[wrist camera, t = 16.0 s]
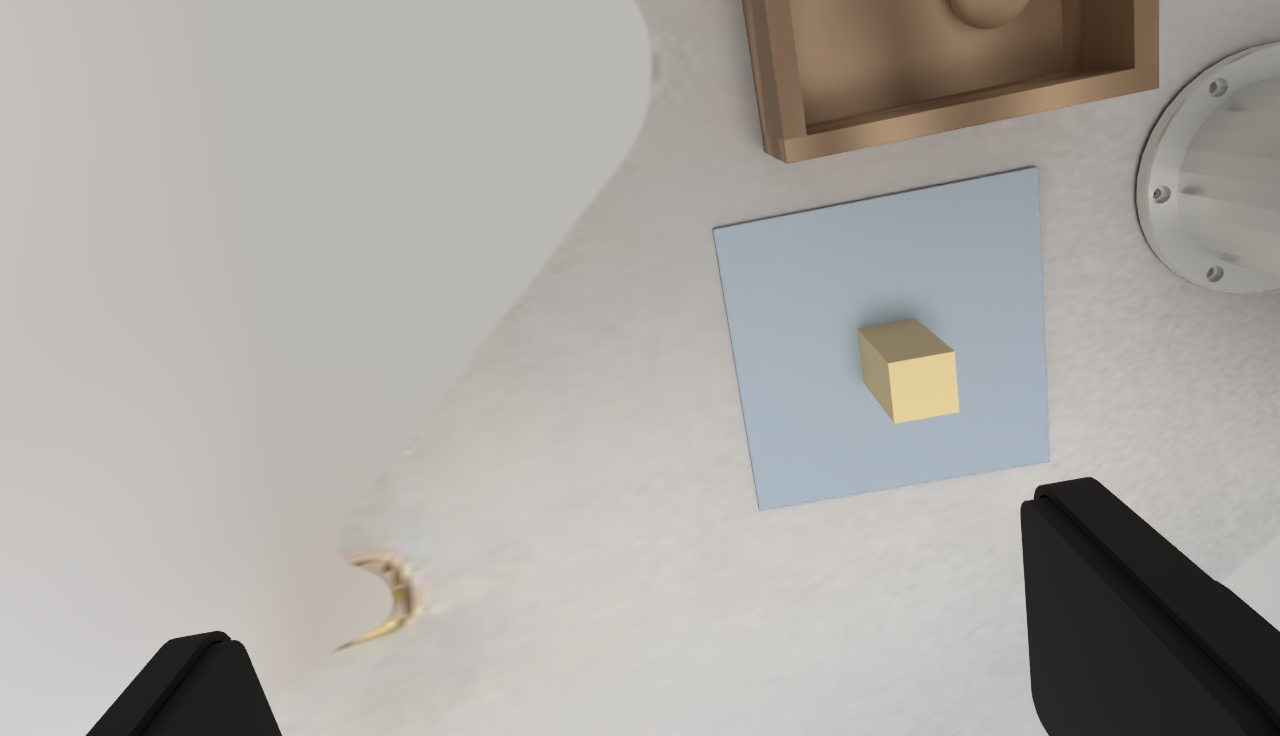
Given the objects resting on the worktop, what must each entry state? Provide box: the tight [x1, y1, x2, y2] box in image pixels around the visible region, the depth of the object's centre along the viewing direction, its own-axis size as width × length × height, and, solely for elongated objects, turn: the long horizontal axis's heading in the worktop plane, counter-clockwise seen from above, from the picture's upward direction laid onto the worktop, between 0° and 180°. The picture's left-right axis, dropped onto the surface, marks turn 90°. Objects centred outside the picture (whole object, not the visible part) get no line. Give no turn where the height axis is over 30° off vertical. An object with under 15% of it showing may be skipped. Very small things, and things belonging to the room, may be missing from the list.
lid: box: [713, 167, 1050, 511], centre depth 44 cm, size 17×17×7 cm
